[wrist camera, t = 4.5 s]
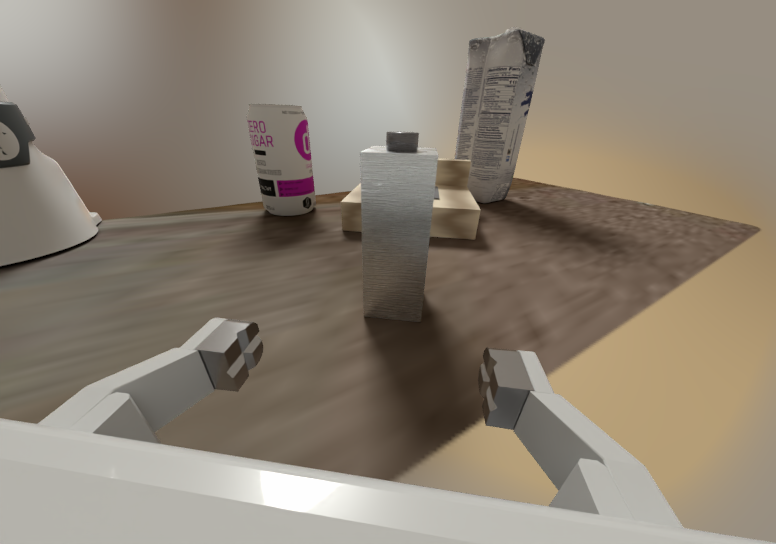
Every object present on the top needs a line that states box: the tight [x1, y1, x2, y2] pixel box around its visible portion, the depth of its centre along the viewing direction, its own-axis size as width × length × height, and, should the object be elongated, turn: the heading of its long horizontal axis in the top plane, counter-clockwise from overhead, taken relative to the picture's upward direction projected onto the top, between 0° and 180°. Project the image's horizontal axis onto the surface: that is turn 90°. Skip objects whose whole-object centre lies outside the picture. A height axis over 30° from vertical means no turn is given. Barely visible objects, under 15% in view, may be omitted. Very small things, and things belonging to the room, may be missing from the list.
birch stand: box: [341, 159, 481, 240], centre depth 43 cm, size 18×16×8 cm
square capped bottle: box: [360, 132, 438, 322], centre depth 20 cm, size 4×4×13 cm
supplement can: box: [247, 104, 316, 216], centre depth 43 cm, size 8×8×15 cm
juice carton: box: [455, 27, 545, 203], centre depth 51 cm, size 9×10×27 cm
